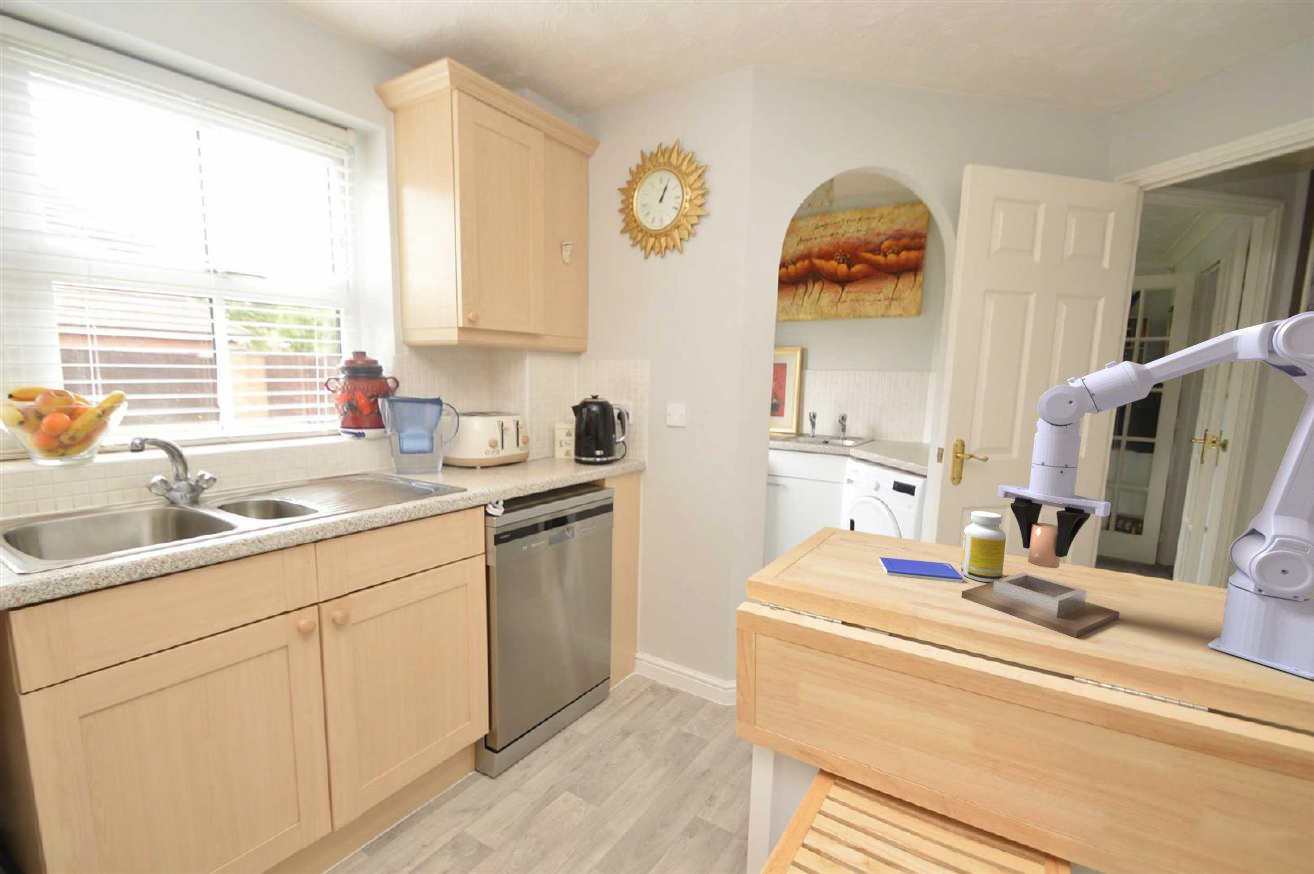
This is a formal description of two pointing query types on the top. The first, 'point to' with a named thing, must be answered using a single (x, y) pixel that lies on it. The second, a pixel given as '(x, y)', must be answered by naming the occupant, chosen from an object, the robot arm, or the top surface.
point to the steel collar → (1040, 594)
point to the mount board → (1067, 624)
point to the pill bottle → (983, 547)
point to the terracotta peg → (1043, 545)
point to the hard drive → (920, 569)
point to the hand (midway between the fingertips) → (1044, 551)
